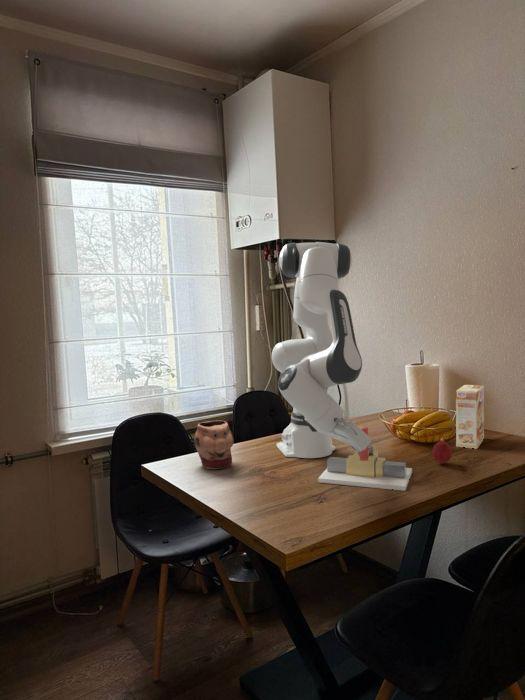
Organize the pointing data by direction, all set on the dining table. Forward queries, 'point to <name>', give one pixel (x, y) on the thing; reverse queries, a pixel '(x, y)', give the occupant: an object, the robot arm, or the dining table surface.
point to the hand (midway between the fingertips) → (359, 449)
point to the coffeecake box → (470, 416)
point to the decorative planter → (214, 444)
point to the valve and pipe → (366, 466)
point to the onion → (442, 451)
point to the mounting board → (366, 480)
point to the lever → (365, 453)
